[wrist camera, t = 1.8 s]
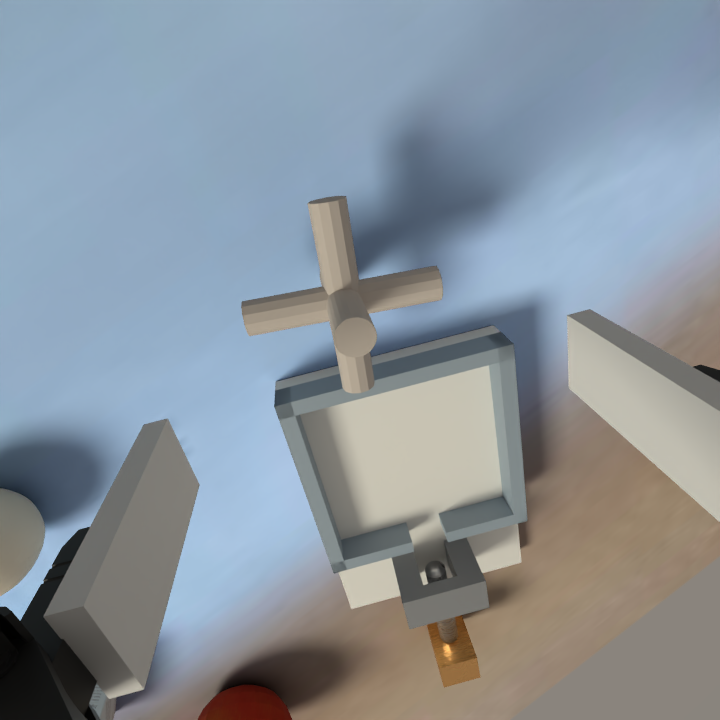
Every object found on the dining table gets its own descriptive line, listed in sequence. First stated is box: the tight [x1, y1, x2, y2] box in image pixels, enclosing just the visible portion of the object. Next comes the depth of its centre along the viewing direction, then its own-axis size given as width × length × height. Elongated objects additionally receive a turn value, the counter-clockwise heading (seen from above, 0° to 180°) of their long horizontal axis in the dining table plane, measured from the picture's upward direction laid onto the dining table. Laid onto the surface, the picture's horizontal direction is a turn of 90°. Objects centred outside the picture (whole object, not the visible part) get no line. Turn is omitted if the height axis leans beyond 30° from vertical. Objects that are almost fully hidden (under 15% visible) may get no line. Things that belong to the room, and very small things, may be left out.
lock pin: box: [425, 561, 480, 687], centre depth 39 cm, size 11×3×4 cm, turn 12°
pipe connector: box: [241, 196, 443, 394], centre depth 24 cm, size 10×10×10 cm
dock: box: [274, 325, 527, 629], centre depth 34 cm, size 22×15×6 cm
